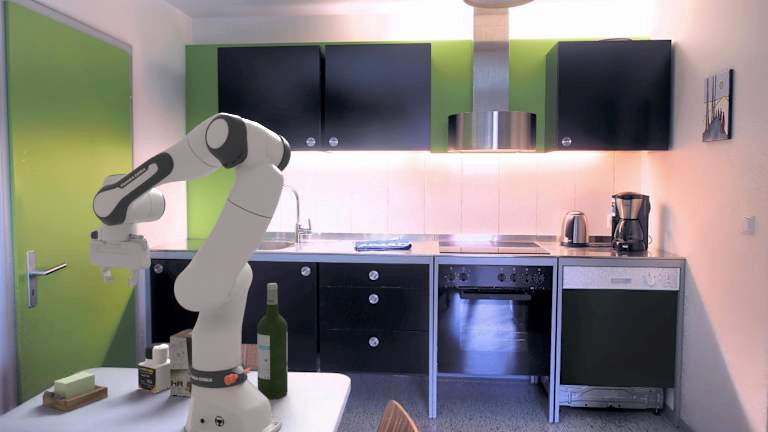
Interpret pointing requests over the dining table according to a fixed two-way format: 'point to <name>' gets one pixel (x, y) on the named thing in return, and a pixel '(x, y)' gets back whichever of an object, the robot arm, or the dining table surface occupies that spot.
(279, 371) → the wine bottle
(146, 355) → the medicine bottle
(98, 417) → the dining table surface
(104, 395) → the wooden footed tray
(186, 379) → the coffee box
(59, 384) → the pale green box
